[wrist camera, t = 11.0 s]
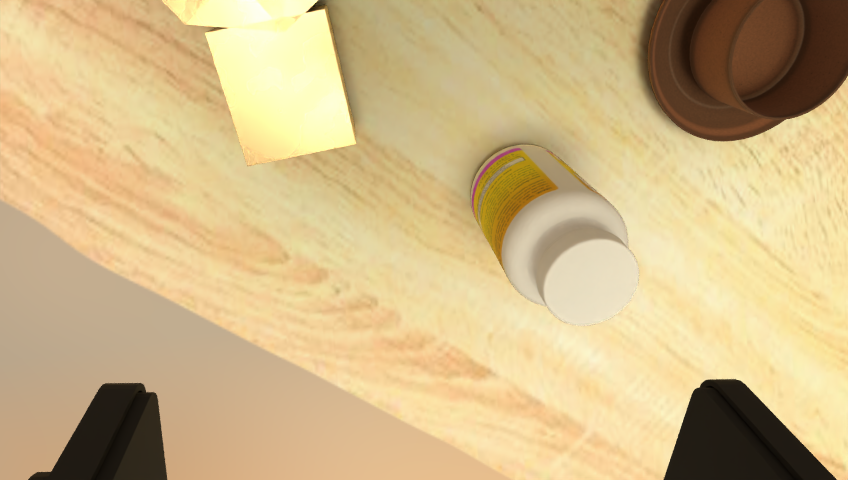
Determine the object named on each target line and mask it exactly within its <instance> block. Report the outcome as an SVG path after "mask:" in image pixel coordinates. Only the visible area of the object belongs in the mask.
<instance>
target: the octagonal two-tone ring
mask: <svg viewBox="0 0 848 480" xmlns="http://www.w3.org/2000/svg"><path fill="white" fill-rule="evenodd" d="M162 1H163V2H164V3H165V4H166V5H167V6H168V7H169V8H170V9H171V10H172V11H173V12H174V13H175V14H176V16H177V17H178V18H179V19H180V20H181V21H182V22H183V23H184V24H187V25H200V26H213V27H217V28H214V29H212V30H210V31H208V32H206V33H205V34H206V38H207V41H208V44H209V47H210V50H211V53H212V56H213V60H214V63H215V66H216V69H217V72H218V75H219V78H220V82H221V85H222V88H223V91H224V94H225V97H226V100H227V103H228V107H229V110H230V113H231V116H232V119H233V122H234V125H235V129H236V132H237V135H238V138H239V141H240V144H241V147H242V151H243V154H244V157H245V160H246V163H247V166H251V165H256V164H261V163H266V162H271V161H276V160H280V159H285V158H290V157H295V156H300V155H305V154H309V153H314V152H319V151H324V150H329V149H334V148H339V147H343V146H348V145H353V144H356V139H355V126H354V121H353V117H352V113H351V108H350V104H349V100H348V95H347V91H346V87H345V82H344V78H343V74H342V69H341V65H340V61H339V56H338V52H337V48H336V43H335V39H334V35H333V30H332V26H331V21H330V17H329V13H328V8H327V5H323V6H318V7H313V8H310V7H312V6H313V5H314V4H315V3H316V2H317V1H318V0H162Z"/></svg>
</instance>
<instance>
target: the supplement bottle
mask: <svg viewBox="0 0 848 480" xmlns="http://www.w3.org/2000/svg"><path fill="white" fill-rule="evenodd" d="M471 207H472V210H473V214H474V216H475V218H476V220H477V222H478V224H479V226H480V228H481V229H482V231H483V233H484V235H485V237H486V239H487V240H488V242H489V244H490V246H491V248H492V250H493V251H494V253H495V255H496V257H497V259H498V260H499V262H500V264H501V266H502V268H503V270H504V272H505V274H506V276H507V277H508V279H509V281H510V282H511V284H512V285H513V287H514V288H515V289H516V290H517V291H518V292H519V293H520V294H521V295H522V296H524V297H525V298H526V299H528V300H530V301H532V302H534V303H536V304H539V305H542V306H546V307H547V308H548V309H549V311H550V312H551V313H552V314H553V315H554V316H555V317H556V318H558V319H559V320H561V321H563V322H565V323H568V324H572V325H578V326H588V325H594V324H598V323H601V322H603V321H606V320H608V319H610V318H612V317H613V316H615V315H616V314H618V313H619V312H620V311H621V310H622V309H623V308H624V307H625V306H626V305H627V304H628V303H629V302H630V300H631V299H632V297H633V295H634V293H635V291H636V289H637V286H638V281H639V267H638V263H637V260H636V258H635V256H634V255H633V253H632V252H631V251H630V250H629V248H628V234H627V229H626V226H625V223H624V221H623V219H622V217H621V215H620V214H619V212H618V211H617V210H616V208H615V207H614V206H613V205H612V204H611V203H610V202H609V201H607V200H606V199H605V198H604V197H603V196H602V195H601V194H599V193H598V192H597V191H596V190H595V189H593V188H592V187H591V186H590V185H589V184H588V183H587V182H586V181H584V180H583V179H582V178H581V177H580V176H579V175H578V174H577V173H575V172H574V171H573V170H572V169H571V168H570V167H569V166H568V165H566V164H565V163H564V162H563V161H562V160H561V159H560V158H558V157H557V156H556V155H554V154H553V153H552V152H550V151H548V150H547V149H544V148H542V147H539V146H535V145H527V144H524V145H515V146H511V147H508V148H505V149H503V150H501V151H499V152H497V153H495V154H494V155H492V156H491V157H490V158H489V159H488V160H487V161H486V162H485V163H484V164H483V165H482V166H481V168H480V169H479V171H478V172H477V174H476V176H475V178H474V181H473V184H472V189H471Z"/></svg>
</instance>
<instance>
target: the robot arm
mask: <svg viewBox="0 0 848 480" xmlns="http://www.w3.org/2000/svg"><path fill="white" fill-rule="evenodd" d="M28 480H167V474H166V465H165V458H164V450H163V440H162V431H161V423H160V414H159V406H158V399H157V395H156V393H154V392H146V390H145V387H144V385H143V384H141V383H106V384H103V385H102V386H101V387H100V389H99V390H98V392H97V394H96V395H95V397H94V399H93V400H92V402H91V404H90V406H89V407H88V409H87V411H86V413H85V414H84V416H83V418H82V420H81V421H80V423H79V425H78V426H77V428H76V430H75V432H74V433H73V435H72V437H71V439H70V440H69V442H68V444H67V445H66V447H65V449H64V451H63V452H62V454H61V456H60V458H59V459H58V461H57V463H56V465H55V466H54V468H53V470H52V471H51V472H37V473H35V474H34V475H32V476H31V477H30V478H29V479H28ZM664 480H837V479H836V478H835V477H834V476H833V475H832V474H831V473H830V472H829V471H828V470H827V469H826V468H825V467H824V466H823V465H822V464H821V463H820V462H819V461H818V460H817V459H816V458H815V457H814V456H813V454H812V453H811V452H810V451H809V450H808V449H807V448H806V447H805V446H804V445H803V444H802V443H801V442H800V441H799V440H798V439H797V438H796V437H795V436H794V435H793V434H792V433H791V432H790V431H789V429H788V428H787V427H786V426H785V425H784V424H783V423H782V422H781V421H780V420H779V419H778V418H777V417H776V416H775V415H774V414H773V413H772V412H771V411H770V410H769V409H768V408H767V407H766V406H765V405H764V403H763V402H762V401H761V400H760V399H759V398H758V397H757V396H756V395H755V394H754V393H753V392H752V391H751V390H750V389H749V388H748V387H747V386H746V385H745V384H744V383H743V382H741V381H740V380H736V379H716V380H705V381H704V382H703V383H702V384H701V386H700V388H696V389H695V390H694V391H693V393H692V396H691V399H690V402H689V405H688V408H687V411H686V414H685V417H684V420H683V423H682V426H681V429H680V432H679V435H678V438H677V441H676V444H675V447H674V450H673V453H672V456H671V459H670V462H669V465H668V468H667V471H666V474H665V477H664Z"/></svg>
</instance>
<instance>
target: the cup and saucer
mask: <svg viewBox="0 0 848 480" xmlns="http://www.w3.org/2000/svg"><path fill="white" fill-rule="evenodd" d="M648 70H649V77H650V82H651V85H652V89H653V92H654V94H655V97H656V99H657V101H658V103H659V105H660V106H661V108H662V109H663V111H664V112H665V113H666V114H667V116H668V117H669V118H670V119H671V120H672V121H673V122H674V123H675V124H676V125H677V126H679V127H680V128H682V129H683V130H684V131H686V132H688V133H690V134H692V135H694V136H697V137H699V138H703V139H707V140H713V141H735V140H741V139H745V138H749V137H753V136H755V135H758V134H761V133H763V132H765V131H767V130H769V129H771V128H773V127H775V126H776V125H778V124H780V123H781V122H783V121H784V120H786V119H791V118H795V117H798V116H801V115H803V114H806V113H808V112H810V111H812V110H813V109H815V108H817V107H818V106H820V105H821V104H822V103H824V102H825V101H826V100H827V99H828V98H830V97H831V96H832V95H833V94H834V93H835V92H836V91H837V90H838V88H839V87H840V86H841V85H842V83H843V82H844V81H845V79H846V78H847V76H848V0H663V2H662V4H661V6H660V8H659V10H658V13H657V15H656V18H655V21H654V24H653V28H652V31H651V36H650V41H649V49H648Z"/></svg>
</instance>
